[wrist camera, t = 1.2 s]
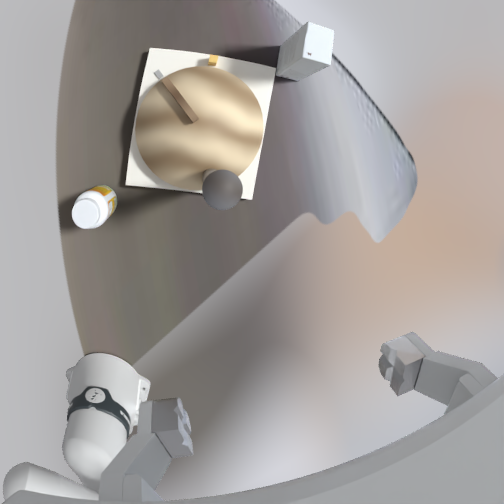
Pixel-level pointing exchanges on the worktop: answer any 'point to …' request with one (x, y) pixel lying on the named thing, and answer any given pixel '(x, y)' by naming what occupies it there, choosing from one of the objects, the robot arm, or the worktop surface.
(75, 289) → the worktop surface
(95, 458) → the robot arm
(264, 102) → the dial stand
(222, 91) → the dial
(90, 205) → the supplement bottle
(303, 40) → the skincare box
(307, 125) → the worktop surface
